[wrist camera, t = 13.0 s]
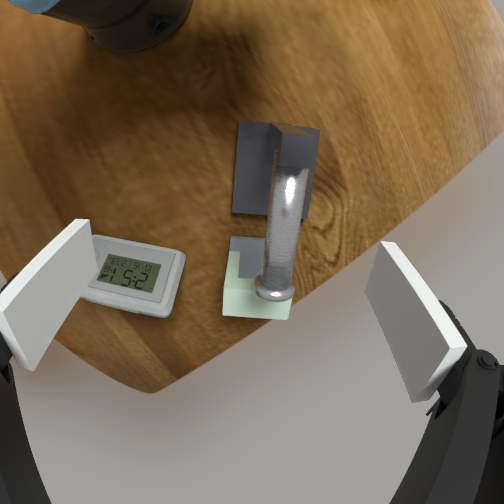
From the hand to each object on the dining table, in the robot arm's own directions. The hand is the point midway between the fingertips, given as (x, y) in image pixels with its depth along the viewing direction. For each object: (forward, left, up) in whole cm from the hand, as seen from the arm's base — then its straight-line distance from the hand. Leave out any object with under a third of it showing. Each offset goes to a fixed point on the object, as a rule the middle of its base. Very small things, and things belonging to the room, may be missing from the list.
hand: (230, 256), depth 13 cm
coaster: (+3, -16, -28) cm, 32 cm away
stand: (+4, -3, -28) cm, 28 cm away
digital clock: (-16, -16, -28) cm, 36 cm away
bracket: (+3, -16, -27) cm, 31 cm away
